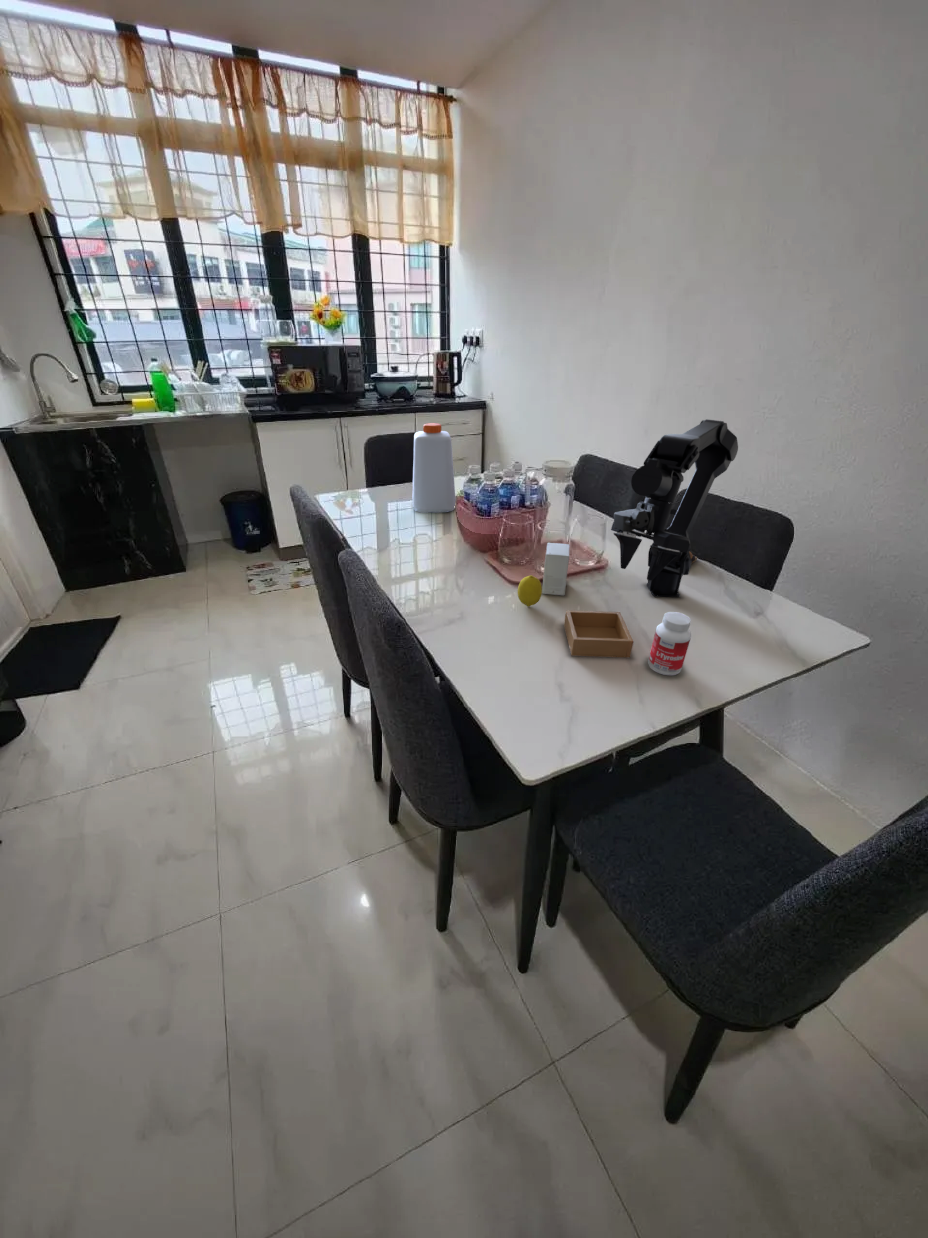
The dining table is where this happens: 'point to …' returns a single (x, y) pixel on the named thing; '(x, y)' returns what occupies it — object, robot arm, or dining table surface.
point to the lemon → (529, 590)
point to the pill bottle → (670, 644)
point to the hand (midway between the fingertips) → (635, 574)
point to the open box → (597, 634)
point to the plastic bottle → (433, 470)
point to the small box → (556, 568)
